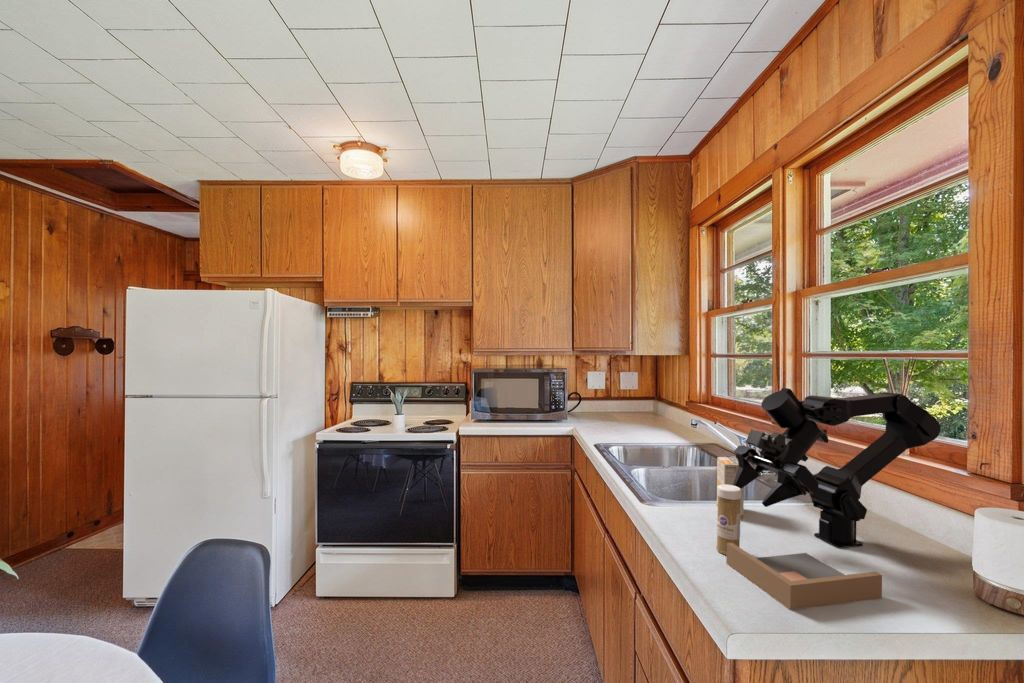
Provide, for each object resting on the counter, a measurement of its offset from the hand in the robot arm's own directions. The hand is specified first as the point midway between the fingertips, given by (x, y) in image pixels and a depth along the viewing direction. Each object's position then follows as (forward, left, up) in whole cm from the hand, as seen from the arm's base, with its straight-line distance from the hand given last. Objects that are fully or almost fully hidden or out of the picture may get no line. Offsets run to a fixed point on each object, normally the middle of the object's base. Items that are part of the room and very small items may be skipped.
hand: (747, 497), depth 100 cm
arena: (-2, +12, -11) cm, 16 cm away
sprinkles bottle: (+4, 0, -11) cm, 12 cm away
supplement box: (-11, -20, -11) cm, 25 cm away
